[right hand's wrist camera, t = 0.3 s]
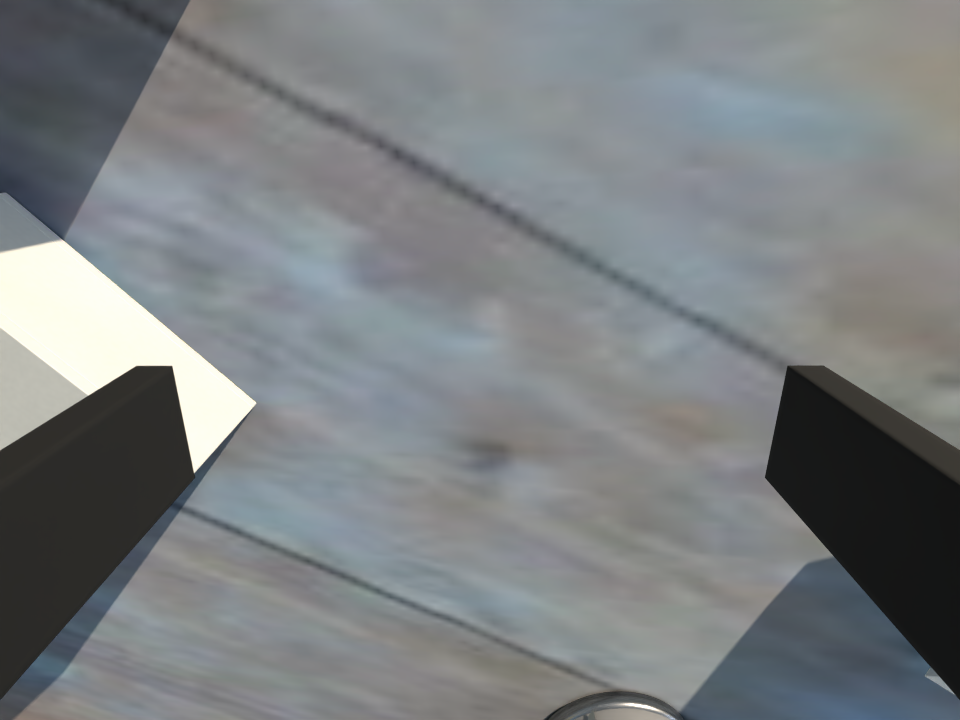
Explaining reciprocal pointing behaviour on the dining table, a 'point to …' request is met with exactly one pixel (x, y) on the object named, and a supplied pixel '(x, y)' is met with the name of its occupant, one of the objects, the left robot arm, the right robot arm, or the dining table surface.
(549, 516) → the dining table surface
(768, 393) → the dining table surface
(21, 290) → the cabinet
